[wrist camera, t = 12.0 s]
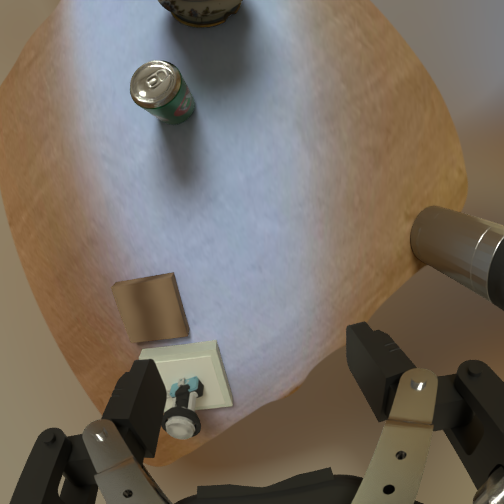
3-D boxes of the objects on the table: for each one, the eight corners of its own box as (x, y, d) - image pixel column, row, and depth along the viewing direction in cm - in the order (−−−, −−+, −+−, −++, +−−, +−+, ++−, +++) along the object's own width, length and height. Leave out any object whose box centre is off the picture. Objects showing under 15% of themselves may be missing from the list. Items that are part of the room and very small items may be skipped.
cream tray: (216, 339, 43) (215, 349, 40) (232, 396, 46) (232, 406, 43) (142, 348, 42) (138, 358, 40) (166, 402, 46) (163, 412, 43)
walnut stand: (173, 272, 39) (171, 277, 37) (189, 329, 42) (187, 336, 40) (115, 282, 39) (111, 287, 37) (134, 335, 42) (131, 342, 40)
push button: (175, 401, 42) (166, 447, 33) (156, 379, 41) (143, 425, 31) (210, 390, 42) (207, 437, 32) (192, 366, 41) (185, 414, 31)
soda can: (149, 103, 33) (117, 78, 21) (182, 81, 33) (163, 47, 21) (169, 133, 34) (142, 117, 23) (202, 111, 34) (190, 85, 22)
